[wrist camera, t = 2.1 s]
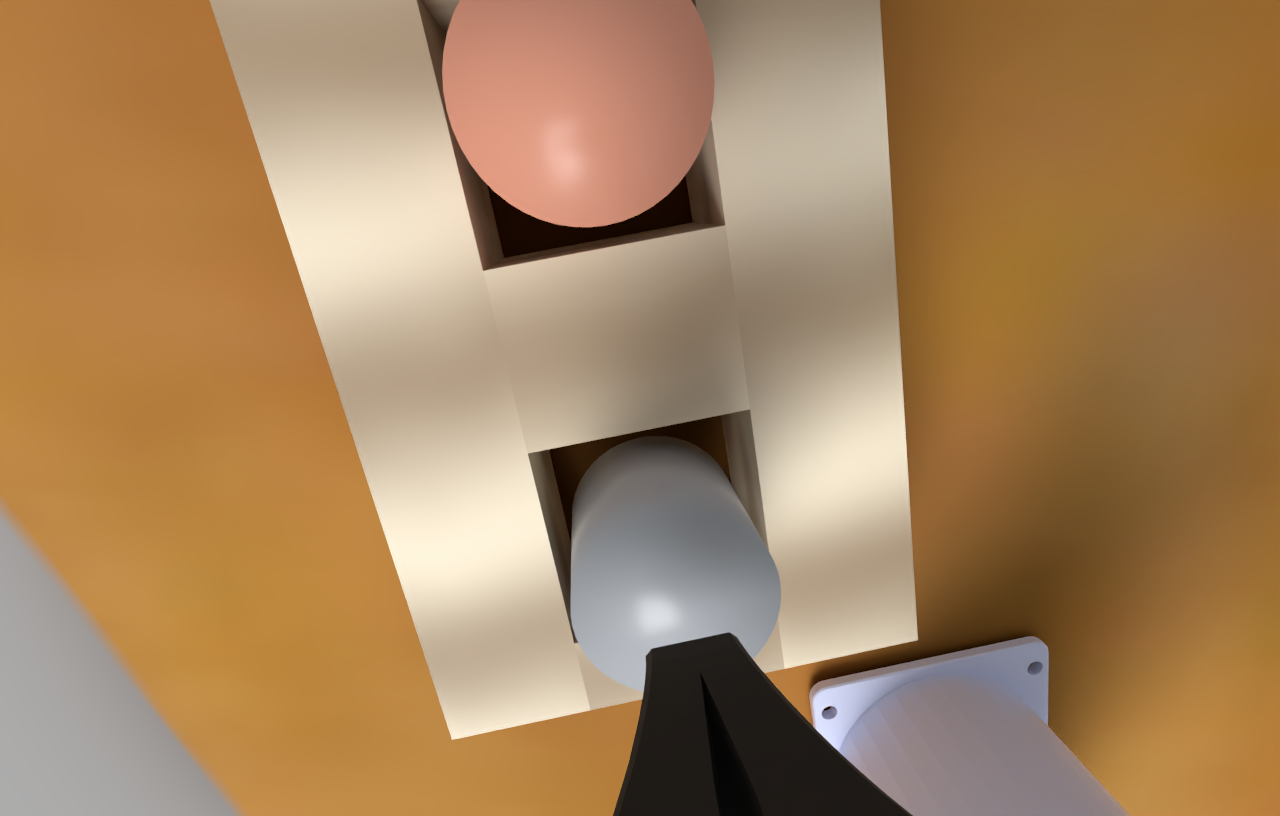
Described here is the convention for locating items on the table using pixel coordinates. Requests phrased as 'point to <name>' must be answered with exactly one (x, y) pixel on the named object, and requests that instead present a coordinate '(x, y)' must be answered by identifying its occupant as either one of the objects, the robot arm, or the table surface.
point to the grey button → (664, 558)
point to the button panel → (597, 331)
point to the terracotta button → (579, 102)
